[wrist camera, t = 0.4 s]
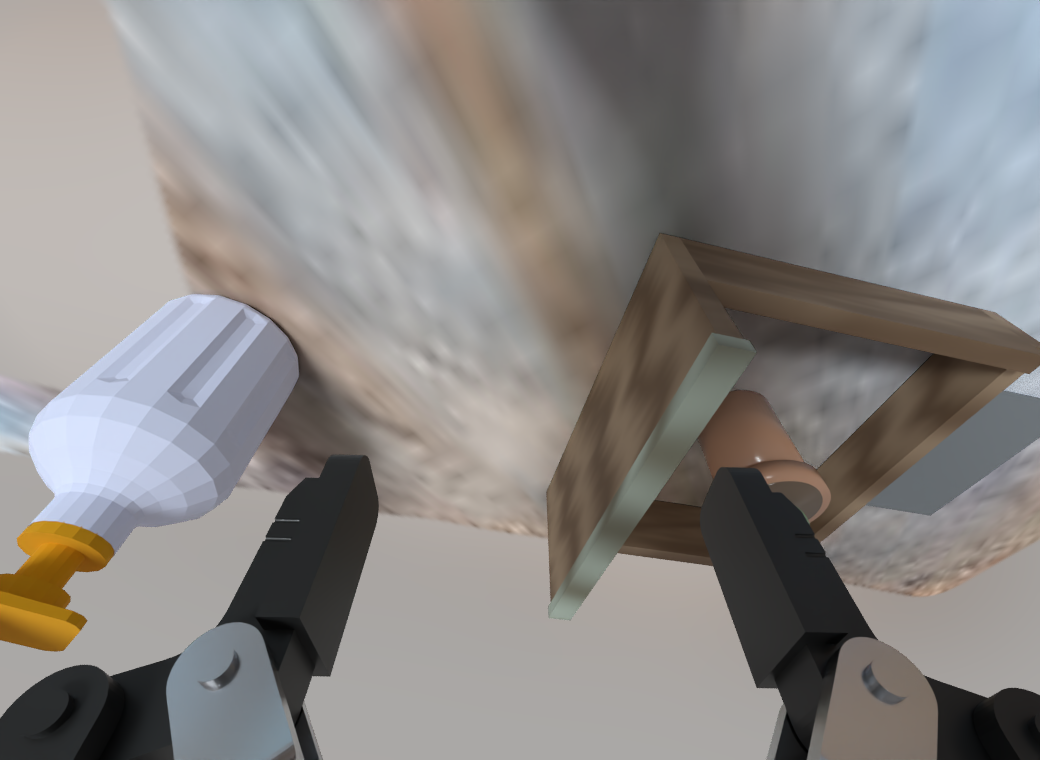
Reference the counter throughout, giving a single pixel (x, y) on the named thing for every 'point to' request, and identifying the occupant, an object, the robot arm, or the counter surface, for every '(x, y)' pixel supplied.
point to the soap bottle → (143, 447)
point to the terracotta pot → (762, 450)
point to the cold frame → (711, 375)
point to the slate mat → (965, 455)
